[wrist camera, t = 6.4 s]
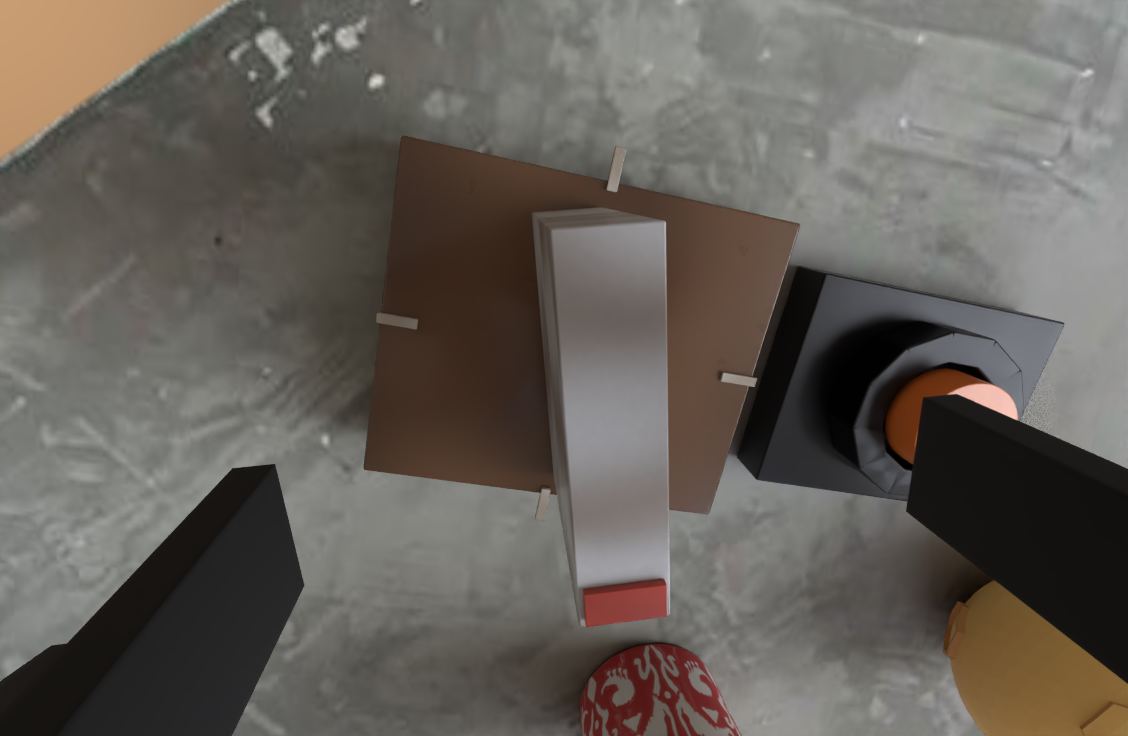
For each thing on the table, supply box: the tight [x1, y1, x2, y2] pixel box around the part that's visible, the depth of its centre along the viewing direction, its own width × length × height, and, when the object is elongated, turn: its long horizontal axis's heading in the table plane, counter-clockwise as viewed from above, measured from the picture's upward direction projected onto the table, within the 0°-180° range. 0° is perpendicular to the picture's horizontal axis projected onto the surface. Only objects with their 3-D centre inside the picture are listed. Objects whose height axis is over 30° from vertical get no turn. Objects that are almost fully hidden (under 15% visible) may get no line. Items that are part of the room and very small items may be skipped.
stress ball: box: [943, 580, 1128, 736], centre depth 26 cm, size 10×10×10 cm
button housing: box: [737, 266, 1064, 501], centre depth 24 cm, size 11×9×4 cm
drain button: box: [885, 369, 1018, 465], centre depth 21 cm, size 4×4×2 cm
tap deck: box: [364, 136, 800, 520], centre depth 22 cm, size 14×14×3 cm
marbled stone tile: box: [532, 207, 670, 627], centre depth 17 cm, size 10×2×8 cm, turn 4°
